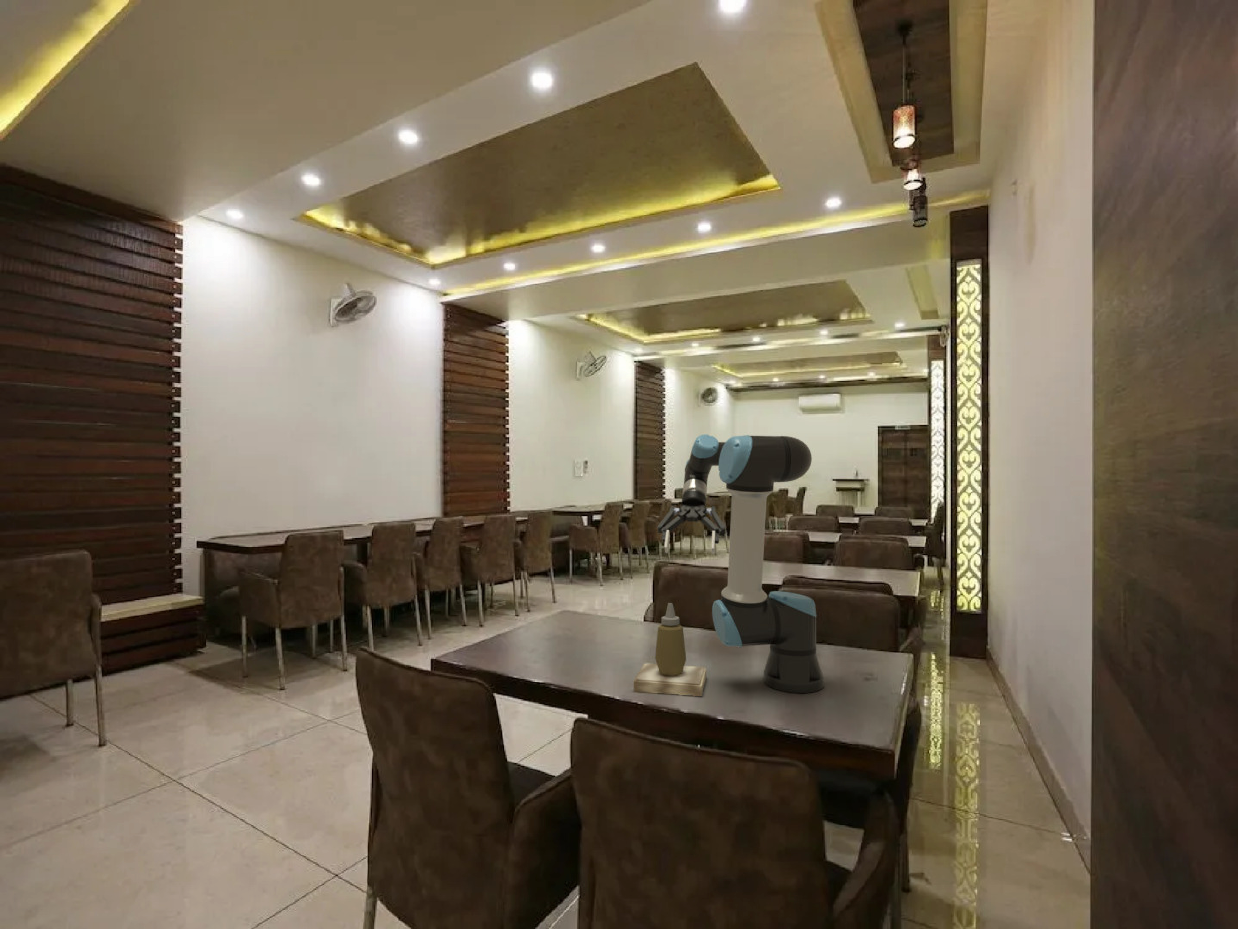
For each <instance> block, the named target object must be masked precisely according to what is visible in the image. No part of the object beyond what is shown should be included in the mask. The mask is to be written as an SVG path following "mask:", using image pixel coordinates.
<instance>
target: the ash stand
mask: <svg viewBox="0 0 1238 929" xmlns="http://www.w3.org/2000/svg"><path fill="white" fill-rule="evenodd" d="M706 681H707V668H706V667H705V666H694V665H693V666H691V665H684V668H683V671H682V673H681V674H680V675H676V676H667V675H663V674H661V673H660V672H659V669H658V666H657V663H650V662H649V663H648V662H645V663H643V664H642V667H641V669H640V670H639V671H638V674H636V676H635V678H634V680H633V692H635V693H647V694H657V693H665V694H664V695H670V694H679V695H678V696H682V695H693V696H692V697H695V696H703V694H702V693H703V692H704V689H705V685H706Z"/></svg>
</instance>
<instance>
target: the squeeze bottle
mask: <svg viewBox="0 0 1238 929" xmlns="http://www.w3.org/2000/svg"><path fill="white" fill-rule="evenodd" d="M675 613H676V612H675V609H674V605H673V603H672V602H668V603H667V607H666V611H665V615H664V616H661V617H660V618H661V622H660V623H661V624H660V625H659V626H658V627H657V634H656V644H655V645H656V647H655V654H654V655H655V656H654V659H655V661H656V664H657V666H658V669H659V672H660V673H661V674H663V675H667V676H676V675H680V674H681V673H682V671H683V668H684V666H686V661H687V655H686V644H685V637H684V636H685V634H684V627H683V626H682V625H681V624H680V617H679V616H676V614H675Z"/></svg>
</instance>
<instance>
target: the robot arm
mask: <svg viewBox="0 0 1238 929" xmlns="http://www.w3.org/2000/svg"><path fill="white" fill-rule="evenodd" d="M812 459H813V458H812V453H811V450H810V448H809V447H808V445H807V444H806V443H805V442H804V441H802V440H801V439H798V438H796V437H793V436H788V435H780V436H779V435H748V434H747V435H738V436H737V435H736V436H735V435H734V436H731V437H729V438H728V439H727V440H726V441H719V440H718V438H716V437H714V436H712V435H709V434H701V435H698V436H697V437H696V438H695V440H694V442H693V446H692V448H691V451H690V455H689V459H687V461H686V464H685V467H684V477H683V478H684V480H683V487H682V496H681V505H680V507H675V505H671V506H670V508H669V511H668V512H667V514H666V515H665V516H664V517H663V519H662V520H661V521H660V522H659V524H658V525H657V531H658V532H657V533H658V534H662V536H661V539H662V540H661V541H662V542H663V543H664V553H666V554H668V553H669V546H670V537H671V535H670V533H671V532H673V531H674V530H675V529H676V528H678V527H679V526H680V525H682V524H683V523H685V522H688V523H689V522H698V521H700V523H701V524H703V525H705V527H707V528H708V530H709V531H710V532H712V533H711V548H710V549H711V554H712V555H715V554H716V552H715V551H716V544H717V545H718V544H719V543H720V536H721V535H726V534H727V532H726V526H725V524H724V523H723V521H722V520H721V518H720V516H719V514H718V513H717V511H716V506H714V505H712V506H710V508H707V506H706V505H707V491H708V478H709V475H710V472H711V469H712V467H718V471H719V473H718V476H719V478H720V481H721V482H723V483H725V484H726V485H725V489H726V490H727V491H728V493H729V494H730V495H731V502H730V503H731V506H730V507H731V508H730V525H729V526H730V527H729V528H730V530H729V547H728V571H727V585H726V586H725V587H724V588H723V589H722V590H721V591H720V592H721V594H720V595H721V596H720V599H717V600H715V601H713V604H712V608H711V610H712V612H711V614H712V621H713V626H714V629H715V632H716V635H717V637H718V639H719V640H720V642H721V643H722V644H723V645H724V646H726V647H738V648H742V647H750V646H751V647H753V646H766V645H769V654H768V657H767V659H766V663H765V666H764V669H763V675H762V676H763V678H762V679H763V683H764V684H765V685H767V686H769V687H770V688H772V689H775V690H779V691H781V692H786V693H787V692H788V693H796V694H805V693H806V694H808V693H814V692H818V691H820V690H822V689H823V688H824V685H825V684H824V678H825V677H824V674H823V671H822V669H821V664H820V663H819V659H818V657H817V610H816V603H815V601H814V599H813V598H811V597H809V596H807V595H803V594H799V593H794V592H788V591H783V590H782V591H779V590H777V591H776V590H774V591H770V592H769V593H768V594H767V593H766V592H765V591H764V590H763V587H762V586H763V573H764V572H763V570H764V553H765V552H764V551H765V550H764V549H765V536H766V535H765V534H766V532H765V531H766V518H767V517H766V516H767V500H768V499H767V498H768V496H769V495H771V494H772V493H773V492H774V486H775V483H788V482H793V481H796V480H799V479H800V478H802V477H803V476H804V475H805V474H806V473H808V471H809V470H810V467H811V466H812V465H811V464H812ZM677 514H678V515H677ZM707 514H708V515H709V516H710V517H712V520H713V521H711V520H710V519H709V517H708V516H706V515H707ZM675 516H676V517H675ZM674 517H675V518H674Z"/></svg>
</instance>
